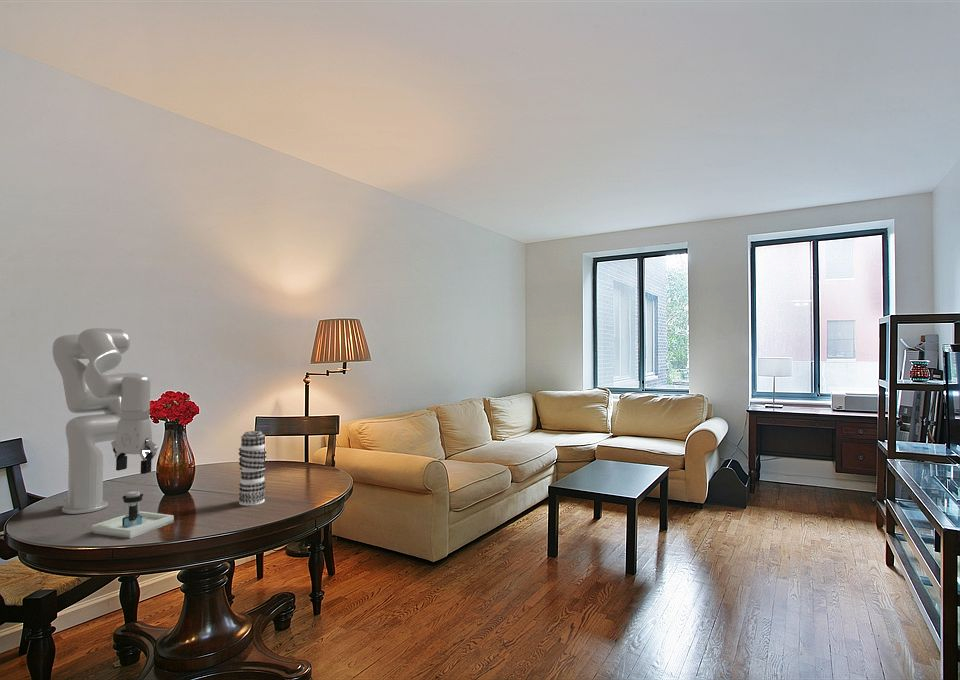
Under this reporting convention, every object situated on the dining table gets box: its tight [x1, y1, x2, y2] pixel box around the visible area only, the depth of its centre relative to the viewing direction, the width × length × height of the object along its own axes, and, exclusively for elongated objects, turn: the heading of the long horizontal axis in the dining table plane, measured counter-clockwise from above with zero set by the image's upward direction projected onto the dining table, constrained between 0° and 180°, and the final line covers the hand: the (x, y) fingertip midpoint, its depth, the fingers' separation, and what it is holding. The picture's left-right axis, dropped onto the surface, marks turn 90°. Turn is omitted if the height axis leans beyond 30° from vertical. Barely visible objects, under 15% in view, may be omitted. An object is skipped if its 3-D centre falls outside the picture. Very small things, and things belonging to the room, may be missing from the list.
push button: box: [122, 490, 147, 528], centre depth 166 cm, size 7×5×10 cm
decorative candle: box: [238, 430, 267, 507], centre depth 193 cm, size 9×9×25 cm
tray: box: [91, 510, 175, 539], centre depth 166 cm, size 15×15×2 cm
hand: (133, 471), depth 166 cm, fingers open, 9 cm apart
